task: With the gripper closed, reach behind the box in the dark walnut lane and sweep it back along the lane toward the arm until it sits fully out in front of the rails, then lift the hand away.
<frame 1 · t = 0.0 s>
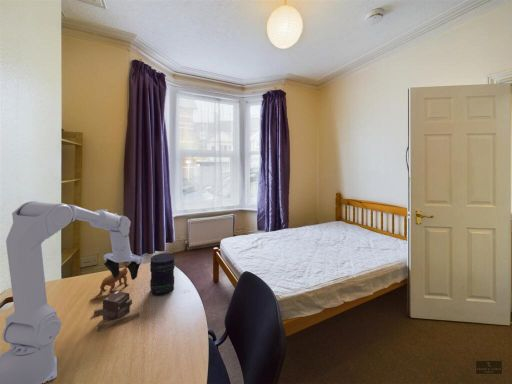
hand: (125, 277, 85), 11 cm above the table, tool pointing down, fingers open, 7 cm apart
shelf lane: (116, 315, 79), on the table
box: (116, 316, 79), on the table
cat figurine: (111, 292, 94), on the table
storage jar: (162, 290, 96), on the table
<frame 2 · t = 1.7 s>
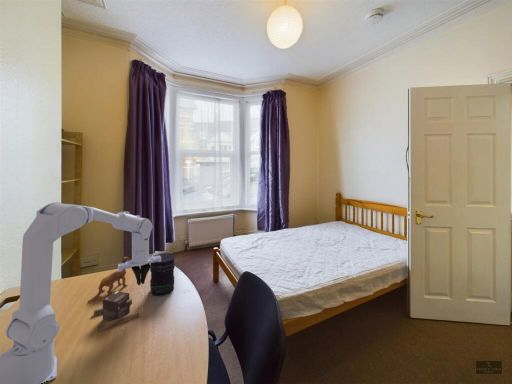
hand: (140, 283, 83), 9 cm above the table, tool pointing down, fingers closed
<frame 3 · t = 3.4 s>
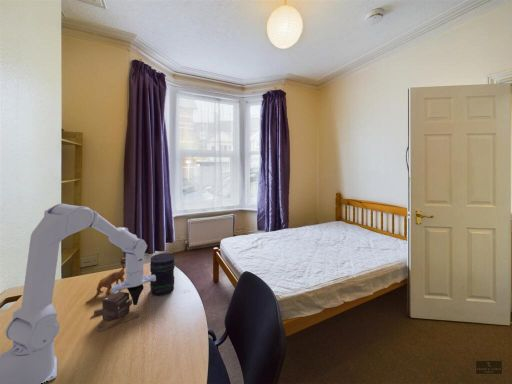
hand: (135, 303, 83), 2 cm above the table, tool pointing down, fingers closed
box: (116, 315, 79), on the table, touching gripper
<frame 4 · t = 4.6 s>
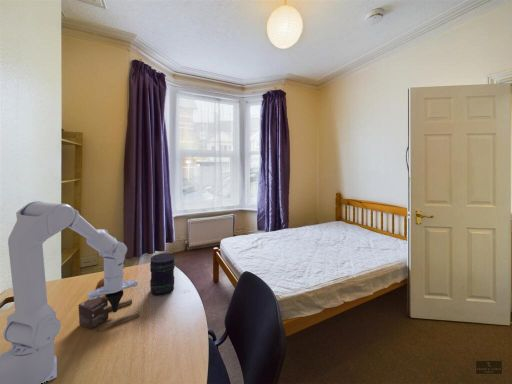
hand: (114, 310, 78), 2 cm above the table, tool pointing down, fingers closed
box: (94, 322, 75), on the table, touching gripper
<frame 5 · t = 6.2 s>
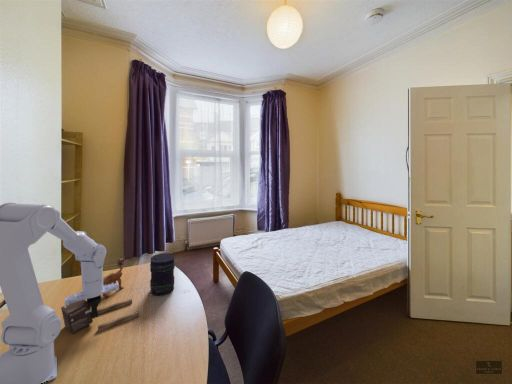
hand: (94, 316, 74), 2 cm above the table, tool pointing down, fingers closed, pressing on box
box: (79, 325, 73), on the table, touching gripper
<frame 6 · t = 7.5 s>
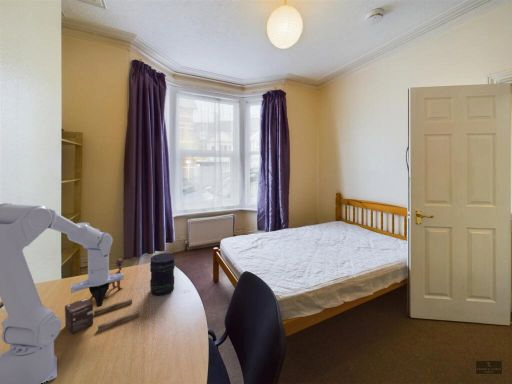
hand: (99, 305, 75), 6 cm above the table, tool pointing down, fingers closed
box: (79, 326, 73), on the table
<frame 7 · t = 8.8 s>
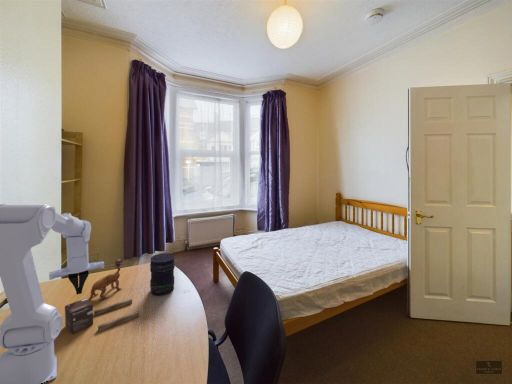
hand: (79, 292, 75), 9 cm above the table, tool pointing down, fingers closed
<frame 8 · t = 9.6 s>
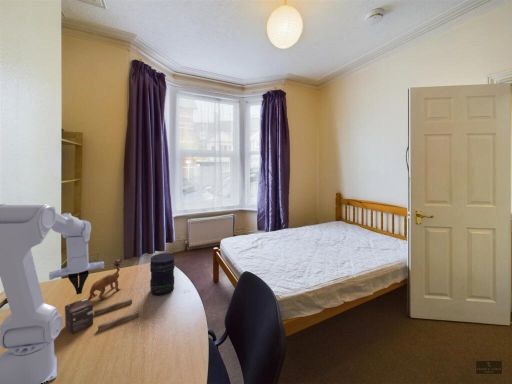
hand: (79, 292, 75), 9 cm above the table, tool pointing down, fingers closed
at the end: box inside the target area (1.9 cm from its centre), on the table; box tilted 0°; box moved 10.5 cm from its start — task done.
